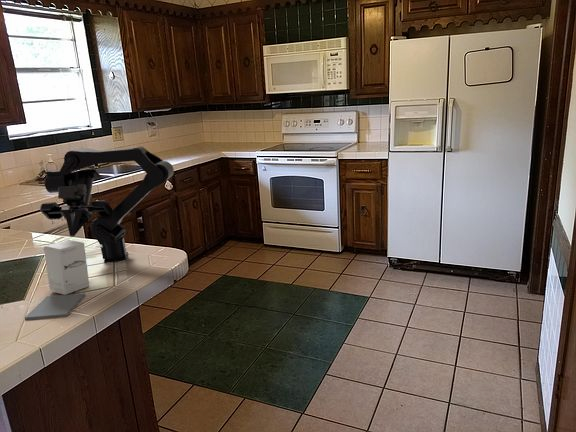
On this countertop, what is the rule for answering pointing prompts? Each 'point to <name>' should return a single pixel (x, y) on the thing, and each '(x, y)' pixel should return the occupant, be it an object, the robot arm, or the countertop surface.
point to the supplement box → (66, 266)
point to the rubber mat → (55, 306)
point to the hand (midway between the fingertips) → (71, 235)
